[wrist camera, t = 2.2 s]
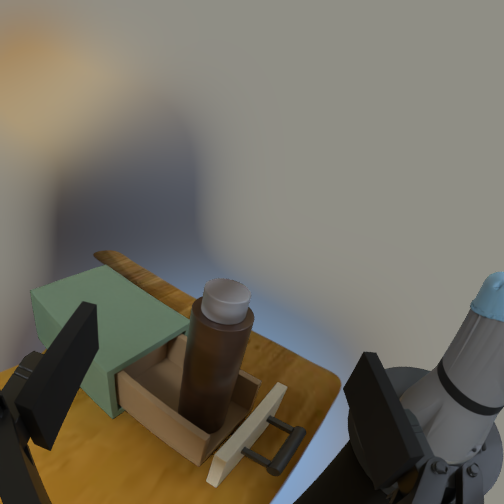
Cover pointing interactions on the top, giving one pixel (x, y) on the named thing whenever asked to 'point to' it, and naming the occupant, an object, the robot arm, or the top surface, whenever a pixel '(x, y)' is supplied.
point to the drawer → (187, 434)
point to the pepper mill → (214, 352)
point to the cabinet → (107, 325)
